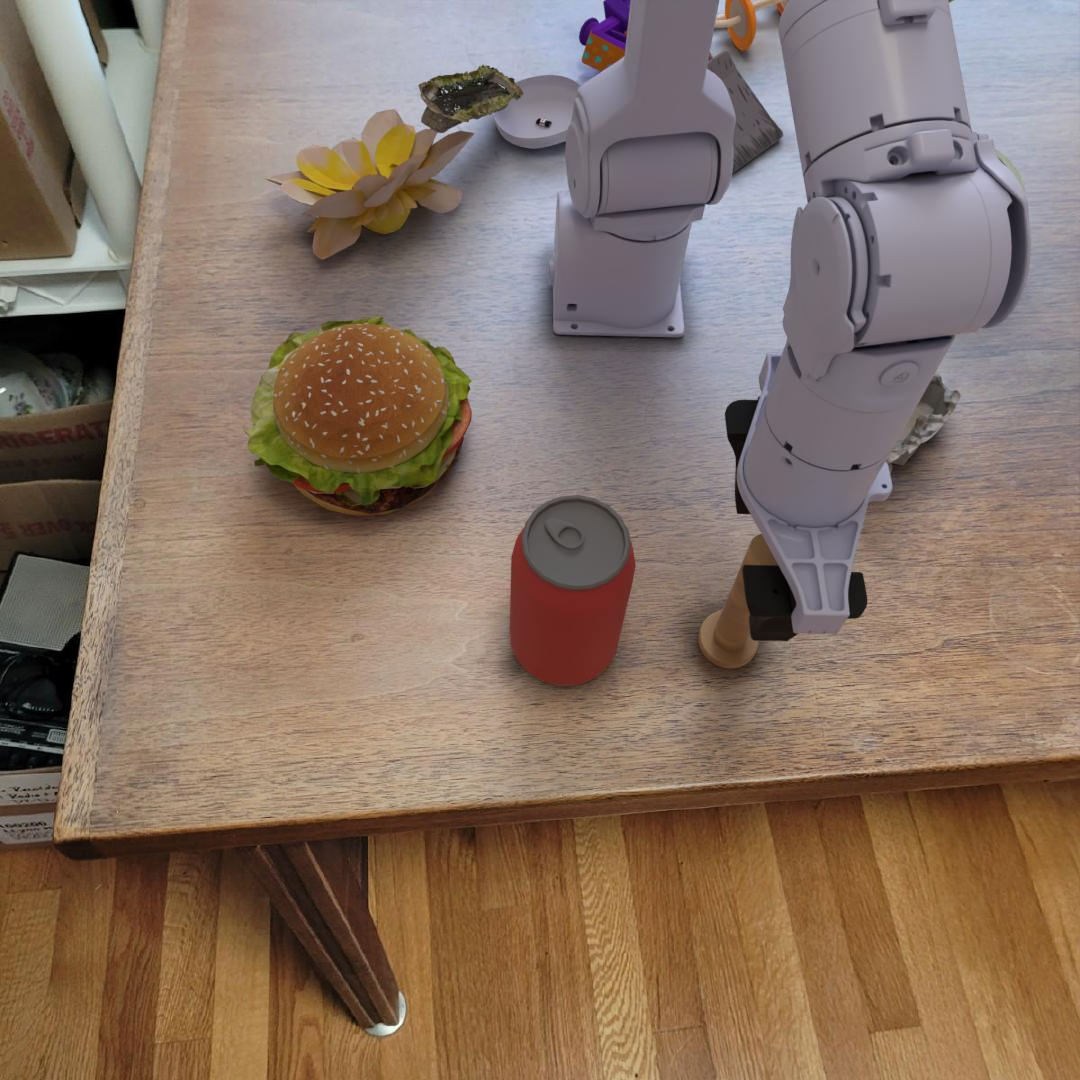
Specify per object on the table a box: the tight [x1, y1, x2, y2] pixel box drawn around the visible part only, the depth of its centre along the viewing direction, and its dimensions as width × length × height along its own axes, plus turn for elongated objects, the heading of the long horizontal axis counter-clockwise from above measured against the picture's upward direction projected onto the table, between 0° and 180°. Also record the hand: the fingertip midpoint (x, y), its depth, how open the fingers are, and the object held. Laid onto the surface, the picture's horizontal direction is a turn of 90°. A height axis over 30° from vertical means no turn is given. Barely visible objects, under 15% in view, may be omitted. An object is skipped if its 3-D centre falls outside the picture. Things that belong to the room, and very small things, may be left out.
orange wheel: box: [714, 0, 789, 52], centre depth 92 cm, size 7×8×15 cm
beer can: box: [509, 494, 637, 687], centre depth 58 cm, size 7×7×12 cm
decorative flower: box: [264, 108, 476, 260], centre depth 77 cm, size 15×11×10 cm
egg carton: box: [885, 373, 962, 475], centre depth 70 cm, size 11×8×4 cm
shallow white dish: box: [492, 74, 581, 149], centre depth 86 cm, size 8×8×2 cm
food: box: [243, 315, 473, 517], centre depth 67 cm, size 14×14×8 cm
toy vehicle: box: [578, 0, 784, 174], centre depth 84 cm, size 9×21×15 cm, turn 43°
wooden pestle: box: [697, 533, 779, 669], centre depth 59 cm, size 4×4×11 cm
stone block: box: [418, 64, 523, 134], centre depth 79 cm, size 14×4×5 cm
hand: (761, 569), depth 56 cm, fingers open, 7 cm apart
